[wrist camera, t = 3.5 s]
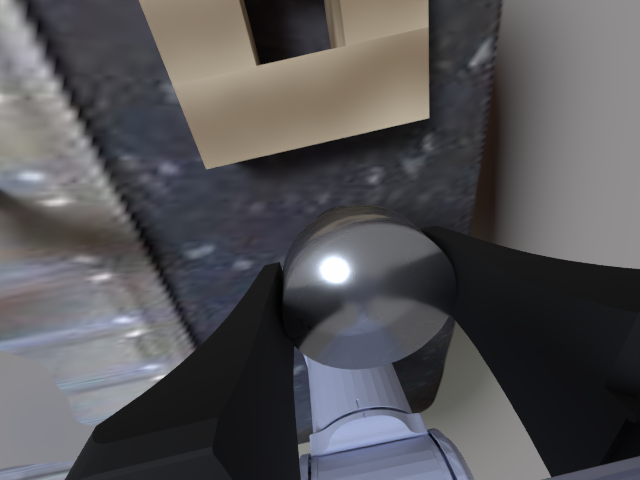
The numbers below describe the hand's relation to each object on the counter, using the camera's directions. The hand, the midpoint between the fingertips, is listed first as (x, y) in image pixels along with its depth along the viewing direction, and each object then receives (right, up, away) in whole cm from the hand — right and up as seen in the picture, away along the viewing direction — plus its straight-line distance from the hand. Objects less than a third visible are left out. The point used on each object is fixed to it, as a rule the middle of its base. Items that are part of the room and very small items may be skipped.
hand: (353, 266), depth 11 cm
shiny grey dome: (0, +1, +3) cm, 3 cm away
